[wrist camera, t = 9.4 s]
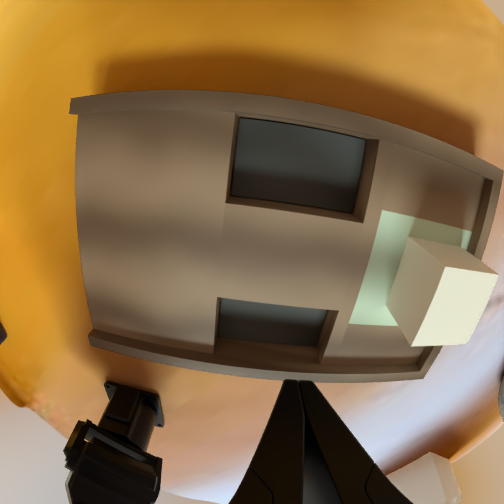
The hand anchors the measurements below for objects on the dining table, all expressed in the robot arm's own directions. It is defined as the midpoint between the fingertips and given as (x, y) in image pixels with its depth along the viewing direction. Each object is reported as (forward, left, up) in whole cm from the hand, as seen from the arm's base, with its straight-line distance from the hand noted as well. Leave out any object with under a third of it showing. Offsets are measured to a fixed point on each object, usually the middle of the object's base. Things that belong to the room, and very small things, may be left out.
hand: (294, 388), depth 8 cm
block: (0, -10, -10) cm, 14 cm away
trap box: (0, 0, -12) cm, 12 cm away
